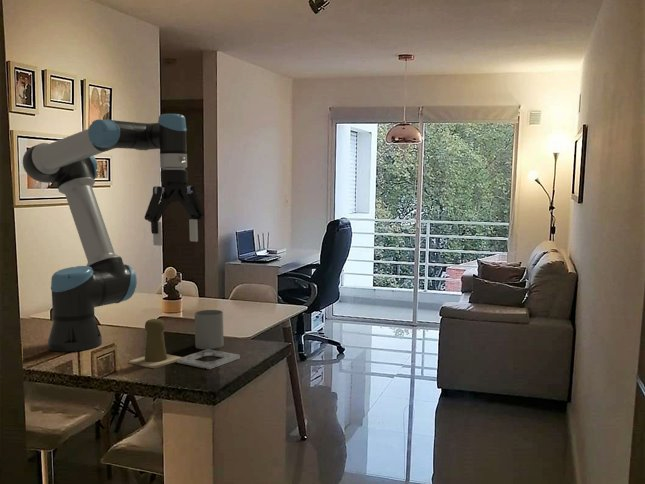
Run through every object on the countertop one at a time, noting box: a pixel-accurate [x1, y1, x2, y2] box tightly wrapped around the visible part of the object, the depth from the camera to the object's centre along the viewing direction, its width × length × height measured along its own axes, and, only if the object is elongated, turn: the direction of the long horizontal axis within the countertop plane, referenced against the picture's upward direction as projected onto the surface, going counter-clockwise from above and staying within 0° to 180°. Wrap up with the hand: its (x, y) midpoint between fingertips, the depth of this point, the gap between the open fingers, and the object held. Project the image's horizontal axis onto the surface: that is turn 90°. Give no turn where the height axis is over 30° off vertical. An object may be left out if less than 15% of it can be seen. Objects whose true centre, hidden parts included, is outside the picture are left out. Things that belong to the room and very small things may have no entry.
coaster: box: [128, 353, 183, 370], centre depth 172 cm, size 10×10×1 cm
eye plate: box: [176, 349, 241, 370], centre depth 172 cm, size 12×12×1 cm
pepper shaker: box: [144, 318, 167, 362], centre depth 171 cm, size 6×6×11 cm
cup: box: [193, 309, 225, 350], centre depth 187 cm, size 8×8×10 cm
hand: (176, 243), depth 181 cm, fingers open, 13 cm apart
